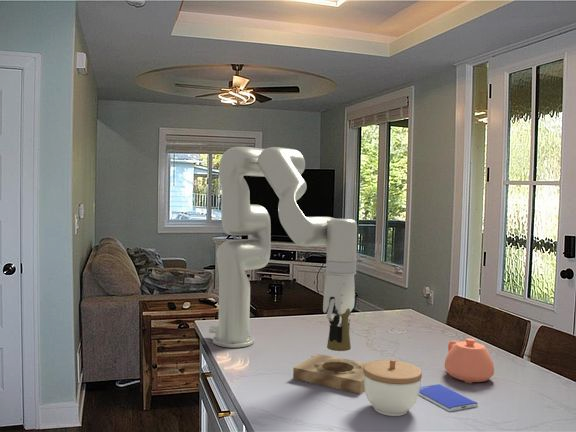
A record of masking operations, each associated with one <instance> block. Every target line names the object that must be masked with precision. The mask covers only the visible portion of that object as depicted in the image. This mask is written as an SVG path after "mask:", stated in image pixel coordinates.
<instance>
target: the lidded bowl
mask: <svg viewBox="0 0 576 432" xmlns="http://www.w3.org/2000/svg"><path fill="white" fill-rule="evenodd" d="M365 363H366V364H365V365H364V367H363V373H364V390H365V391H364V393H365V396H366V399H367V401H368V402H369V404H370V405H371V406H372V407H373V408H374V410H375V412H377V413H379V414H381V415H384V416H387V417H400V416H404V415H406V414H407V413H408V411H409V410H411V409H412V408H413V407H414V406H415V405H416V403H417V401H418V399H419V396H420V395H419V393H420V387H422V378H423V372H422V370H421V368H420V367H418V366H416V365H414V364H412V363H408V362H405V361H399V360H396V359H391V358H390V359H388V360H387V359H382V360H381V359H379V360H372V361H368V362H365Z"/></svg>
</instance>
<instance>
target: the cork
mask: <svg viewBox="0 0 576 432" xmlns="http://www.w3.org/2000/svg"><path fill="white" fill-rule="evenodd" d="M337 312H338V311H334V313H336V314H338V313H337ZM349 315H350V316H351V313H350V309H349V308H348V309H347V310H346V312H345V313H344V314H342V320H341V327H342V342H341V343H338V342H337V341H336V340H333V342H332V341H330V330H329V331H328V338H327V344H326V345H327V346H326V348H327V349H328V350H330V351H335V352H347V351H350V350H351V338H350V325H349V326H348V317H349ZM334 317H336V318H337V320H338V316H334Z"/></svg>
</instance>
